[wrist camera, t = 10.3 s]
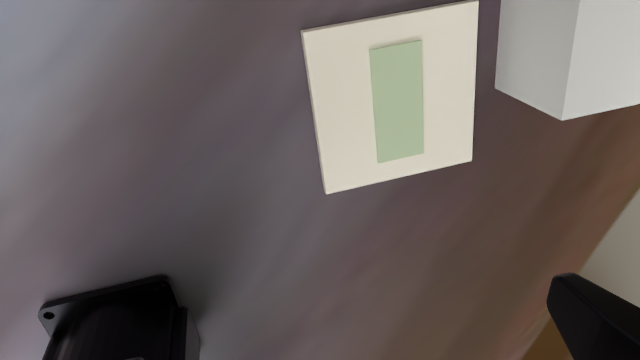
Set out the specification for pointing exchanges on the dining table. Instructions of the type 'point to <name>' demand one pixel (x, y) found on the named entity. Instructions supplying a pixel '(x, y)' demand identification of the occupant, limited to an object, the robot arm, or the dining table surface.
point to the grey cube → (570, 55)
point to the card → (393, 93)
